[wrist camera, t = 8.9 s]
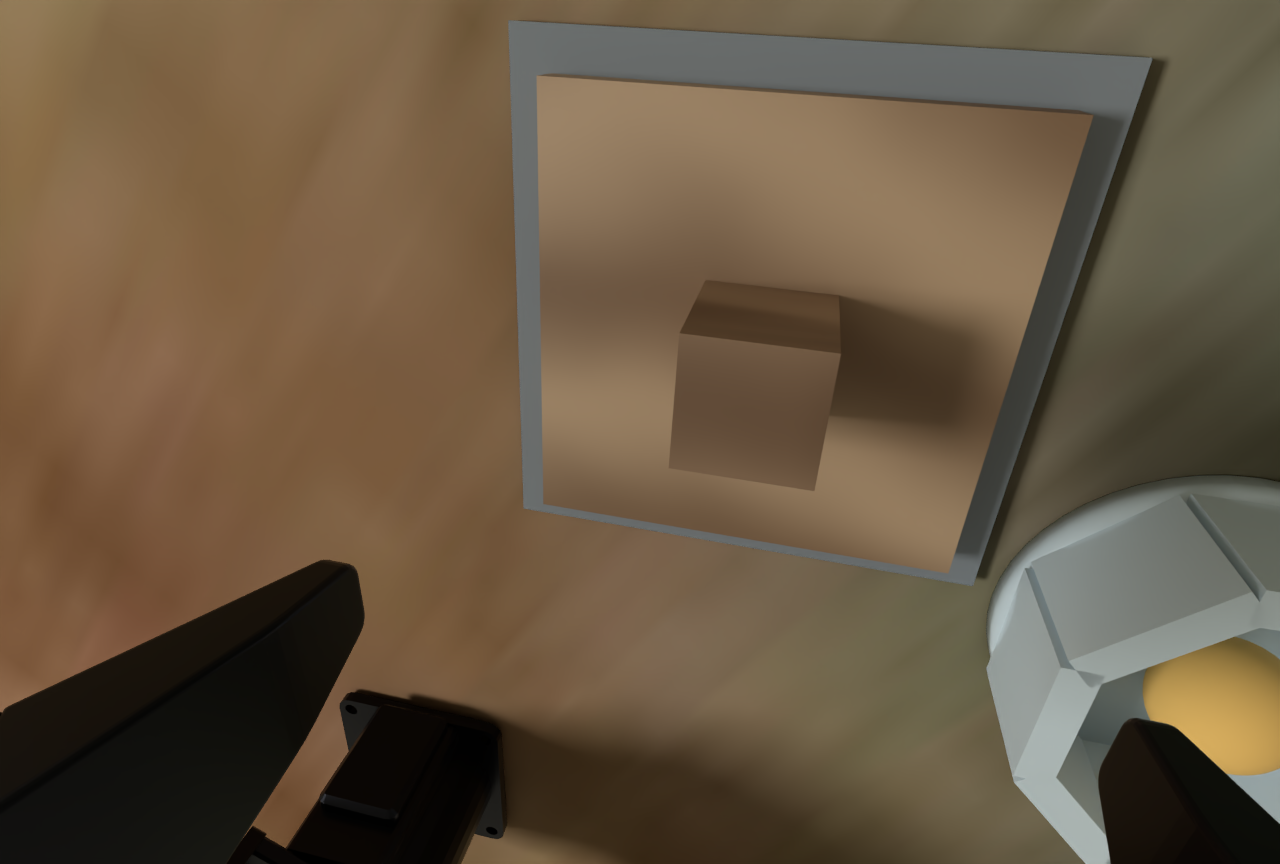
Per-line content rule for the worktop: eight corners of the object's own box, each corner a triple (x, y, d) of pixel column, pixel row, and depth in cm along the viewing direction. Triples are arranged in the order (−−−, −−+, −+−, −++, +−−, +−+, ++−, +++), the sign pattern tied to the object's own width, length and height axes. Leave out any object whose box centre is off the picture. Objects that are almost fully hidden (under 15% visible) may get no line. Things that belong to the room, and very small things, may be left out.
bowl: (1294, 782, 22) (1395, 945, 18) (949, 713, 23) (973, 849, 19) (1492, 510, 17) (1687, 651, 13) (1044, 447, 19) (1101, 556, 15)
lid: (943, 550, 20) (970, 673, 16) (554, 485, 22) (496, 582, 18) (1078, 110, 15) (1165, 138, 11) (551, 73, 17) (468, 86, 13)
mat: (970, 577, 21) (973, 586, 21) (528, 501, 23) (523, 508, 23) (1145, 57, 15) (1152, 57, 14) (515, 20, 17) (508, 20, 16)
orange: (1236, 710, 20) (1301, 819, 17) (1105, 685, 20) (1149, 788, 18) (1293, 619, 18) (1375, 723, 16) (1150, 595, 19) (1205, 692, 16)
